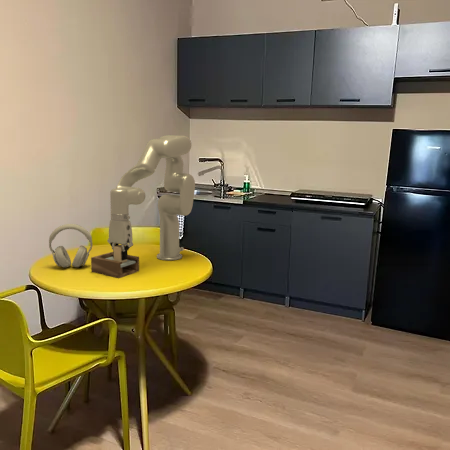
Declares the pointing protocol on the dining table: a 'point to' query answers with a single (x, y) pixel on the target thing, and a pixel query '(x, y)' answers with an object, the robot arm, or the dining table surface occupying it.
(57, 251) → the headphones
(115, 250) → the cover plate
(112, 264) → the walnut box
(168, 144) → the robot arm
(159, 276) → the dining table surface
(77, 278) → the dining table surface
